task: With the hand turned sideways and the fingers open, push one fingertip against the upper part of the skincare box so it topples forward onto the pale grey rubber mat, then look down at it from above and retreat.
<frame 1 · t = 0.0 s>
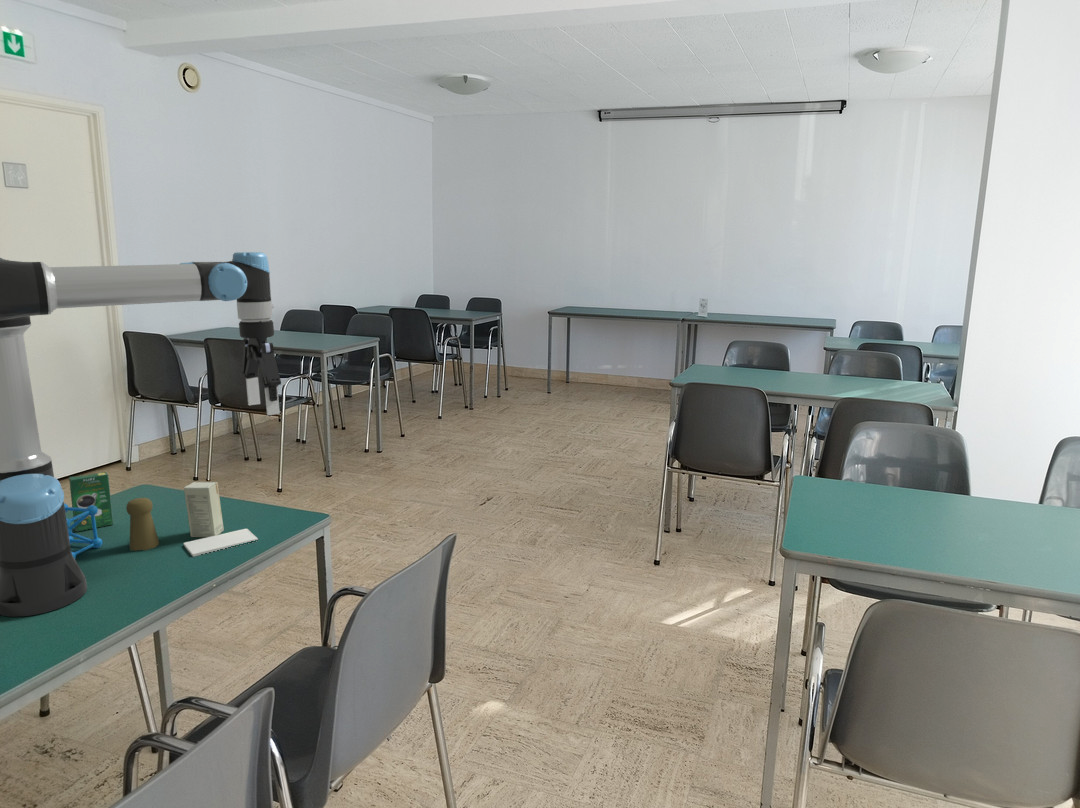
hand: (263, 409, 180), 28 cm above the table, tool pointing down, fingers open, 13 cm apart
skincare box: (206, 534, 177), on the table
coffee box: (95, 527, 182), on the table
cork: (144, 546, 171), on the table
molecular structure: (69, 554, 167), on the table
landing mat: (221, 543, 172), on the table
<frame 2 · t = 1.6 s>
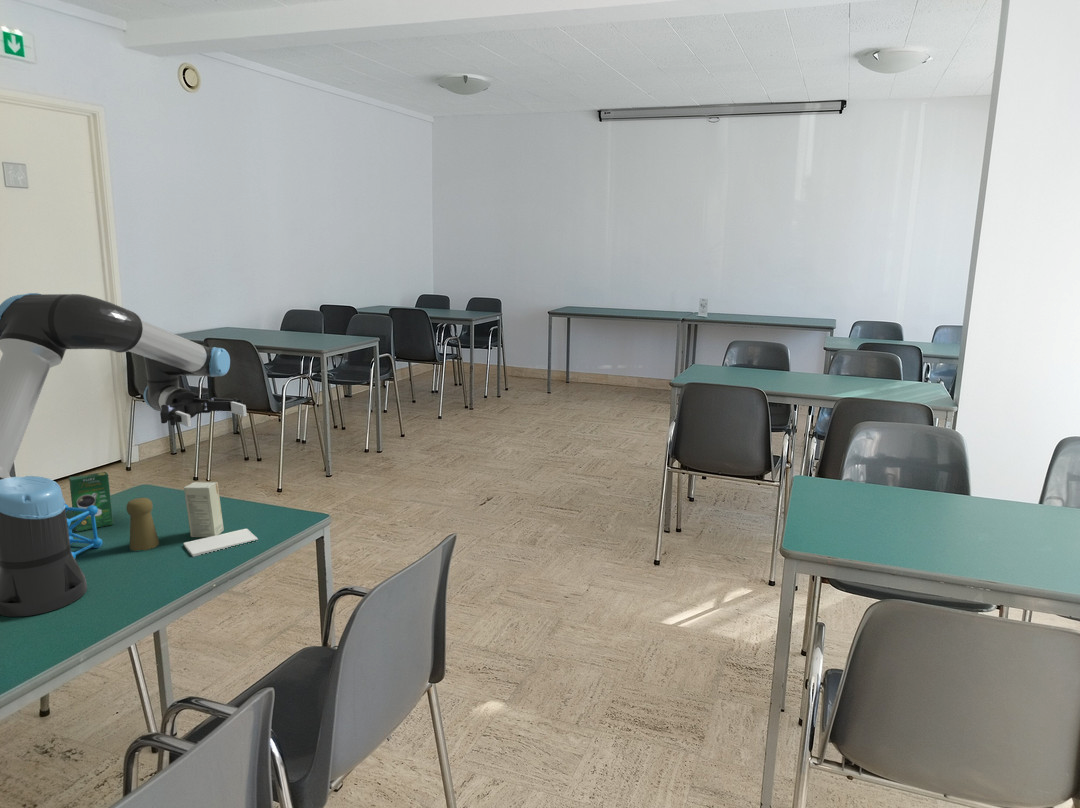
hand: (217, 415, 181), 26 cm above the table, tool horizontal, fingers open, 13 cm apart
nothing on the table moved.
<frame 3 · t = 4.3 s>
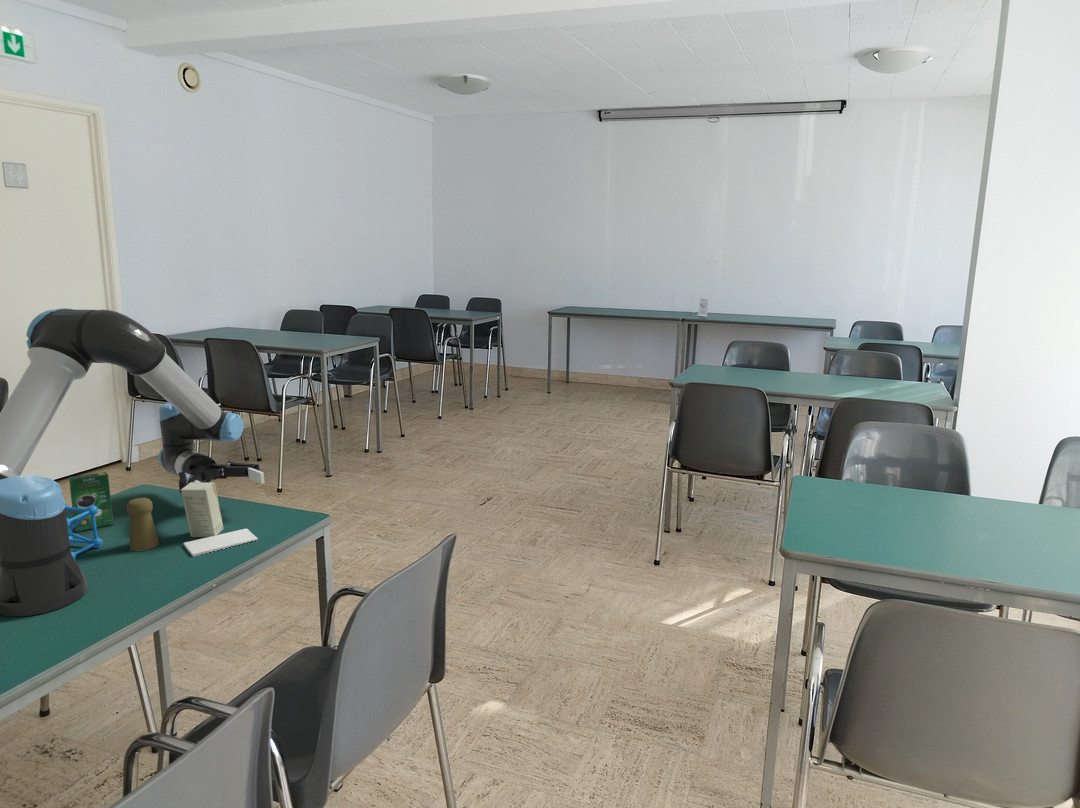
hand: (236, 484, 182), 10 cm above the table, tool horizontal, fingers open, 13 cm apart
skincare box: (206, 533, 177), on the table, touching gripper
everything else where it was.
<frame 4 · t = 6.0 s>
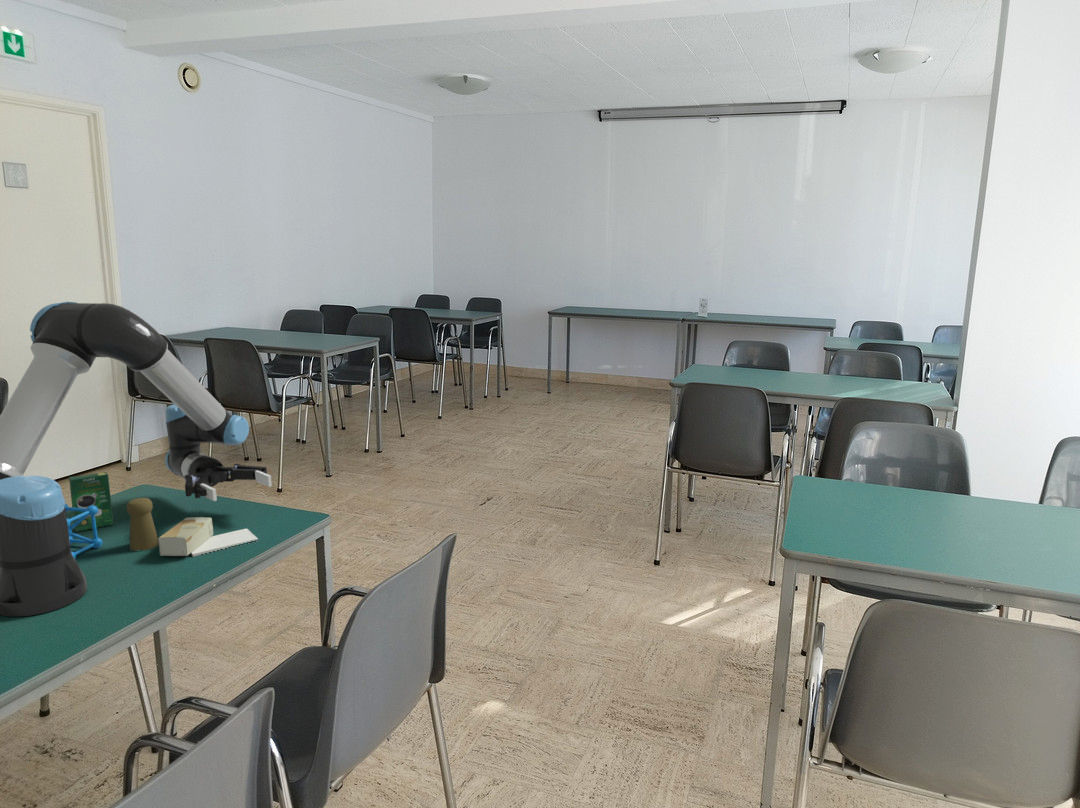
hand: (243, 488, 179), 10 cm above the table, tool horizontal, fingers open, 13 cm apart
skincare box: (199, 525, 175), point 3 cm above the table, touching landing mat
everything else where it was.
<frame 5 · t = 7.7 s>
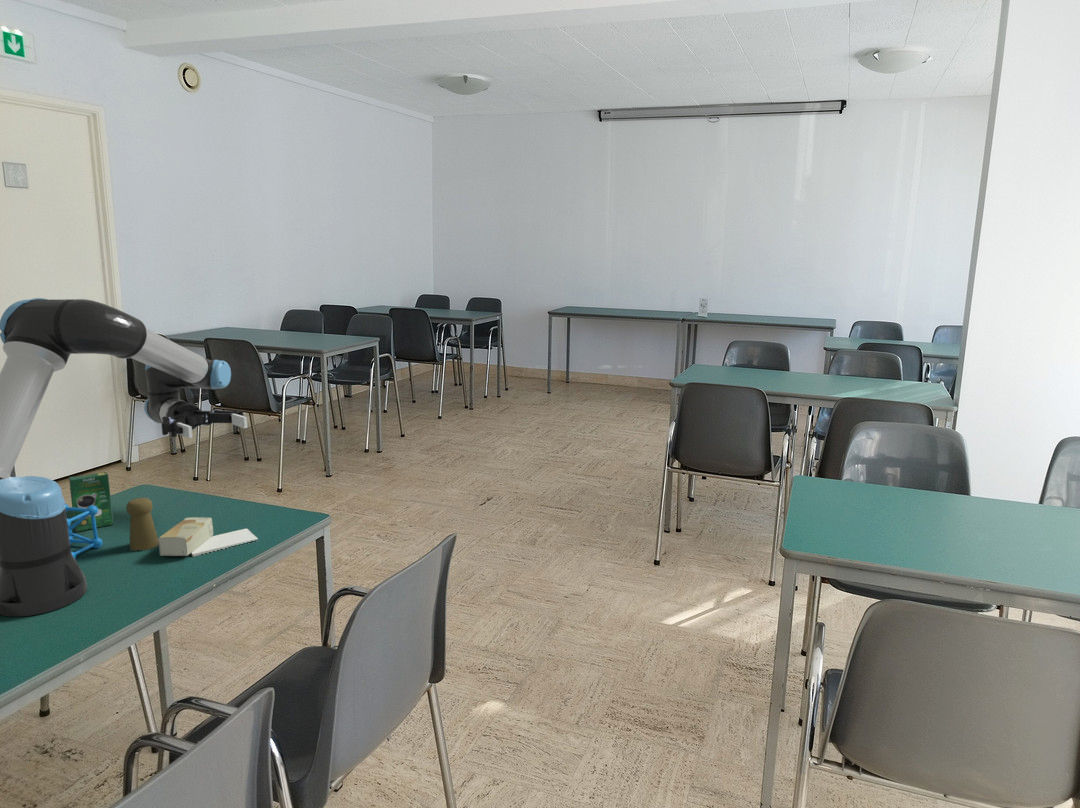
hand: (218, 427, 183), 23 cm above the table, tool horizontal, fingers open, 13 cm apart
nothing on the table moved.
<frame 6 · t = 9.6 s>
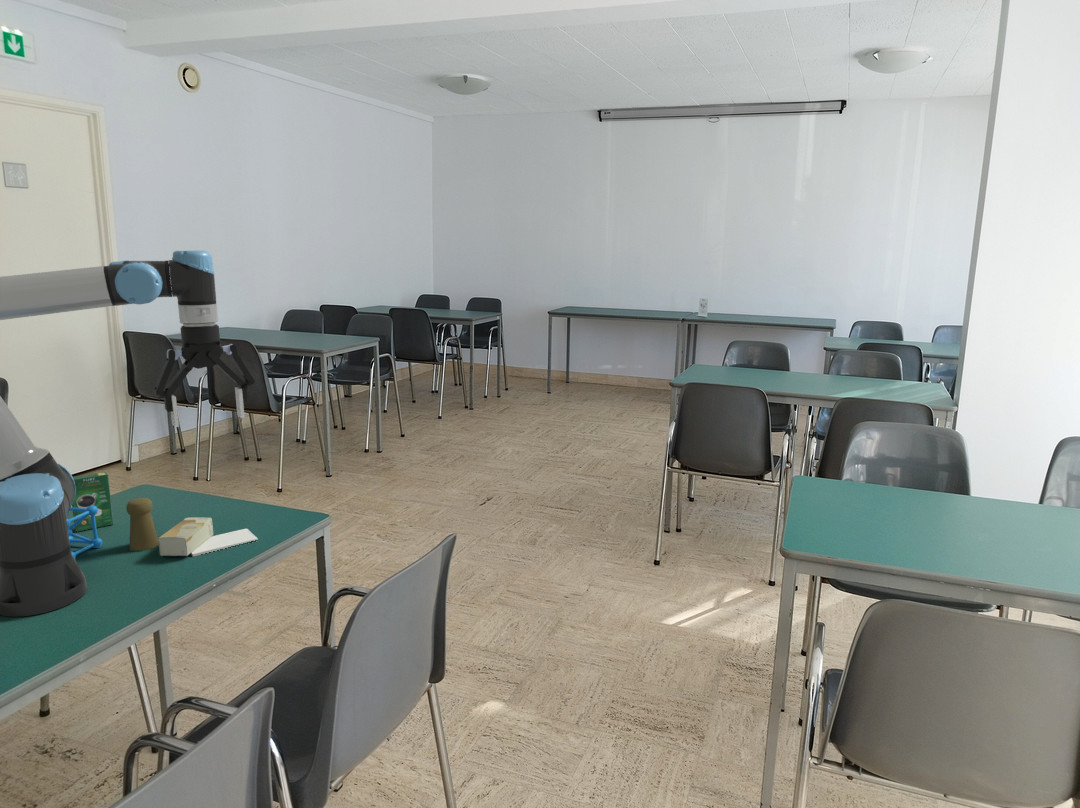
hand: (209, 421, 165), 29 cm above the table, tool pointing down, fingers open, 13 cm apart
nothing on the table moved.
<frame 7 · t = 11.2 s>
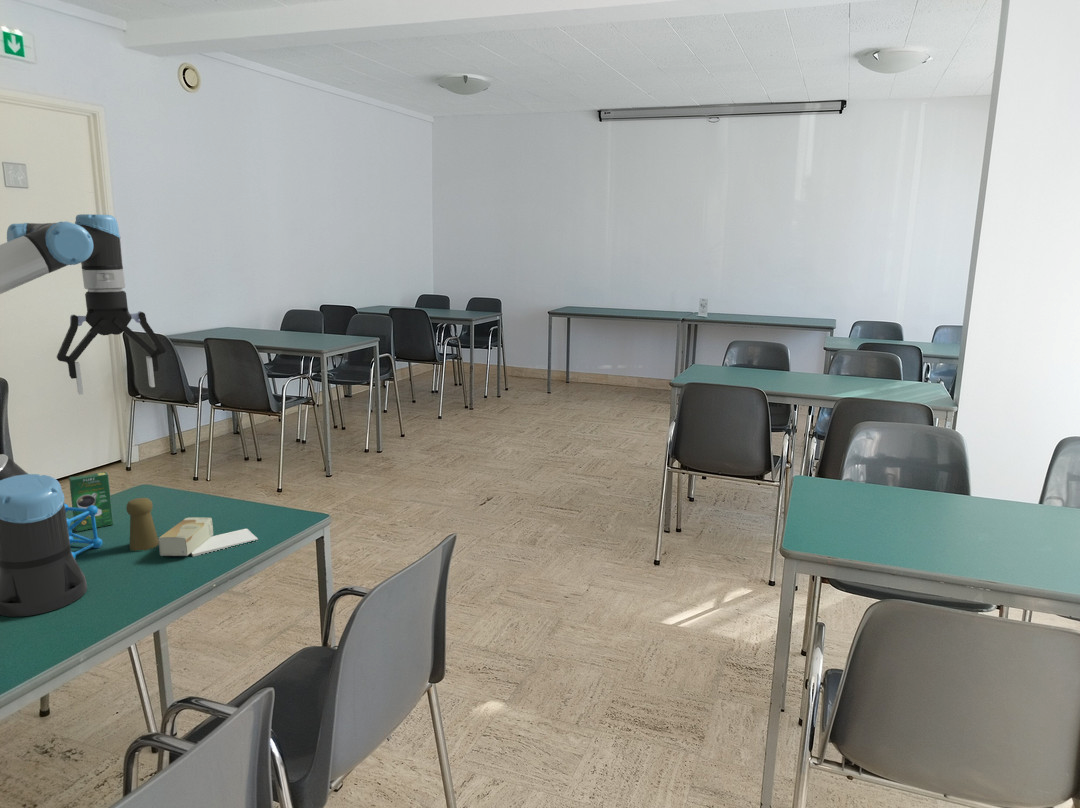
hand: (117, 389, 163), 36 cm above the table, tool pointing down, fingers open, 13 cm apart
nothing on the table moved.
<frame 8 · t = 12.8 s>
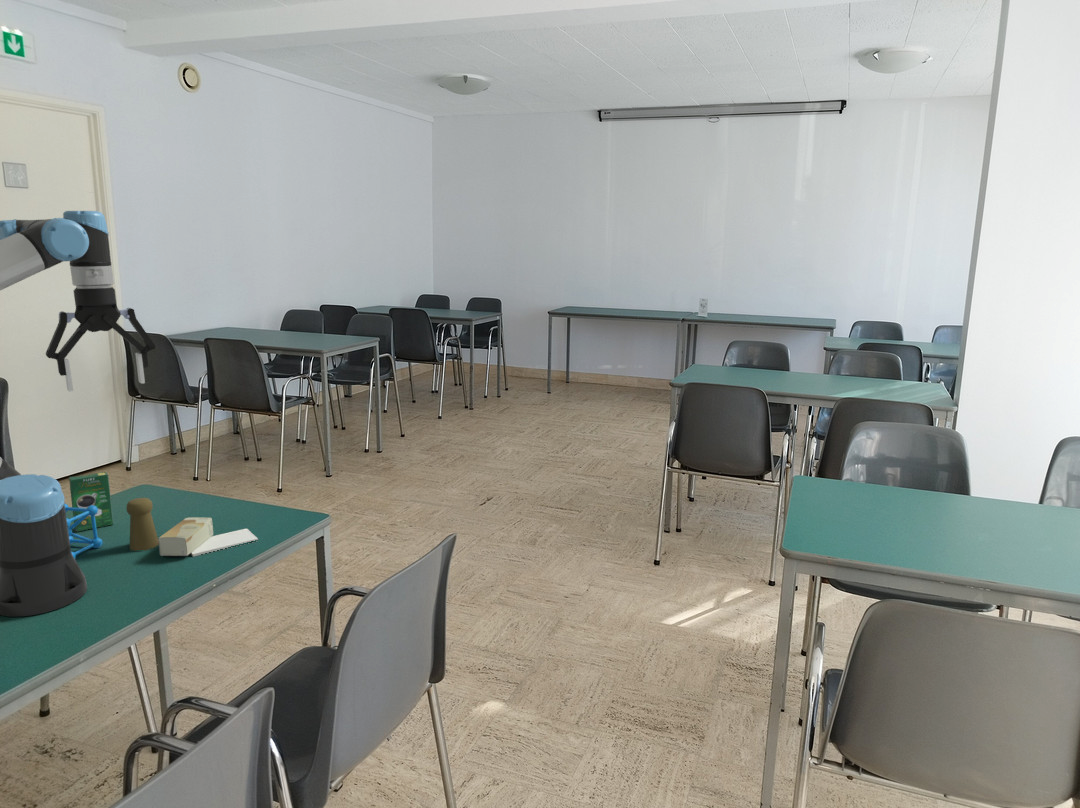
hand: (107, 386, 163), 37 cm above the table, tool pointing down, fingers open, 13 cm apart
nothing on the table moved.
at the end: skincare box tilted 90°; skincare box touching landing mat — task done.
